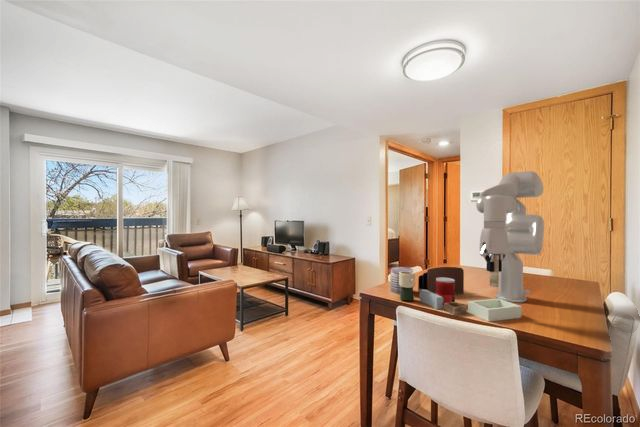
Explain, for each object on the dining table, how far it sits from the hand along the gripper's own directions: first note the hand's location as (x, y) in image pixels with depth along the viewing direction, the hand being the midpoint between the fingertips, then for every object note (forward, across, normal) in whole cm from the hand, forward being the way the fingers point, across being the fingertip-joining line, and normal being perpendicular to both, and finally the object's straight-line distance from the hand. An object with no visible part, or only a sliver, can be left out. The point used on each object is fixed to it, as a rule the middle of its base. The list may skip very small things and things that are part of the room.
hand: (494, 270), depth 110 cm
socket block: (+18, +13, -7) cm, 23 cm away
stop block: (+18, +17, -17) cm, 30 cm away
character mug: (+18, +24, -25) cm, 39 cm away
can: (+18, +19, -38) cm, 46 cm away
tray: (+18, 0, 0) cm, 18 cm away
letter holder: (+18, -1, -33) cm, 38 cm away
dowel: (+6, 0, 0) cm, 6 cm away
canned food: (+18, +9, -17) cm, 27 cm away
